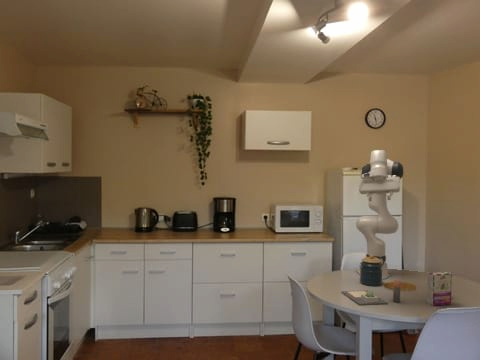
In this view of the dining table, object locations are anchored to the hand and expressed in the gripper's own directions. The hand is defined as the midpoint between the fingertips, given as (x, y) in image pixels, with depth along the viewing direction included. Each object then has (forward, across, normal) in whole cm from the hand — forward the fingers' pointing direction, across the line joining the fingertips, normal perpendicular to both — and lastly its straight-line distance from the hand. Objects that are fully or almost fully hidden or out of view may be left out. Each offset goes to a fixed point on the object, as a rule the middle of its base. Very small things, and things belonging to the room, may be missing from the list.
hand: (379, 200), depth 224 cm
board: (+43, +12, -30) cm, 54 cm away
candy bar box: (+43, -25, -39) cm, 63 cm away
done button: (+44, +8, -25) cm, 51 cm away
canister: (+27, +12, -59) cm, 66 cm away
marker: (+44, -4, -32) cm, 55 cm away
